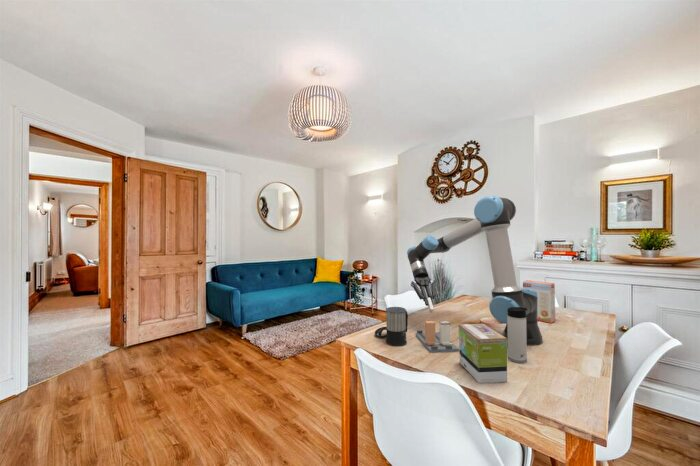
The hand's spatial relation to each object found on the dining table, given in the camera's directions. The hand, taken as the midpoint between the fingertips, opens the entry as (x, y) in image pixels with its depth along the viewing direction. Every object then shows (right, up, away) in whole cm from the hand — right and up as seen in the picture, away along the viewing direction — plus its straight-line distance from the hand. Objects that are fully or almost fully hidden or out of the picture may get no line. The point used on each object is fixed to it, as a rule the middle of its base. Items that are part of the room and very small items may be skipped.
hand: (431, 310), depth 138 cm
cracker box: (+66, -11, +24) cm, 71 cm away
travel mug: (+25, -12, -27) cm, 39 cm away
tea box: (+7, -12, -36) cm, 39 cm away
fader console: (-1, -12, -9) cm, 15 cm away
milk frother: (-20, -12, -5) cm, 24 cm away
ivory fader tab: (+1, -10, -15) cm, 18 cm away
